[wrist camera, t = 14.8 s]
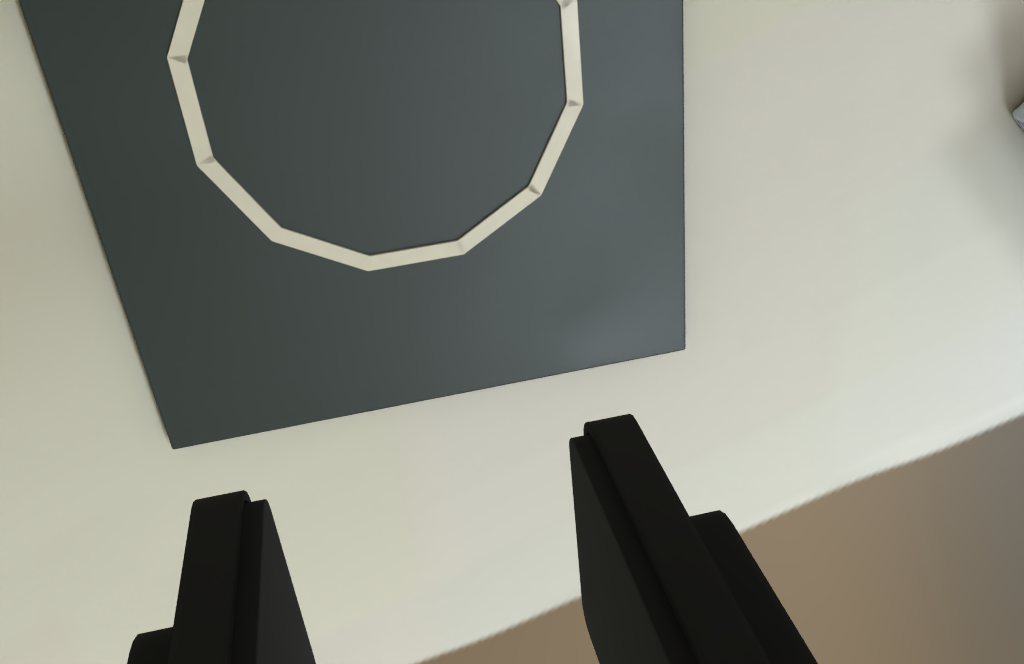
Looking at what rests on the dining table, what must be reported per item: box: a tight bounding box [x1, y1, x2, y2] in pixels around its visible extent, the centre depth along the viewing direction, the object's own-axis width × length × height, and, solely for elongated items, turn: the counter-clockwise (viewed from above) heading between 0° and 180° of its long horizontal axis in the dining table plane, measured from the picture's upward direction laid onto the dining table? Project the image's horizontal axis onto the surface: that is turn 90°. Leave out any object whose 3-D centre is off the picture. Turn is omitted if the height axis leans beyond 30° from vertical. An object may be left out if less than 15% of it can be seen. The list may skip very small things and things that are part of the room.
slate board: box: [18, 0, 685, 449], centre depth 27 cm, size 22×18×1 cm
